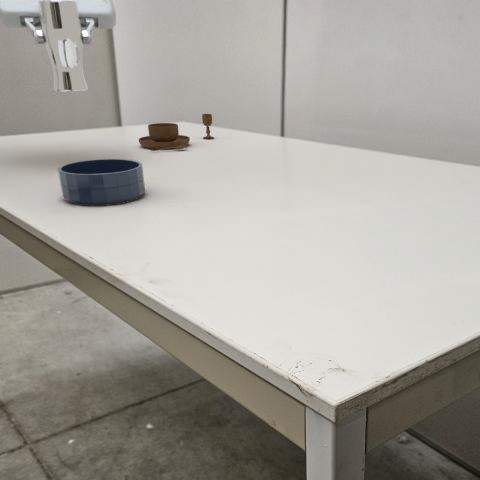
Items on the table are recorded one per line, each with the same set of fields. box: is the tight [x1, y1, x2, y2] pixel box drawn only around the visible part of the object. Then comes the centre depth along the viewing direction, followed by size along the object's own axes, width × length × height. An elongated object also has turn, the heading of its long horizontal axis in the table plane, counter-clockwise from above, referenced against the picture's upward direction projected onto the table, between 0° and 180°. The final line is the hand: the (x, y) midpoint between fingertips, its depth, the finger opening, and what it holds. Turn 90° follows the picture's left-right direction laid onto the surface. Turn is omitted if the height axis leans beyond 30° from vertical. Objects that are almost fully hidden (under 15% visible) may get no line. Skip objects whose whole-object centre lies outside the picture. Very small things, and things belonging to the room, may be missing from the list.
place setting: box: [138, 113, 215, 152], centre depth 149 cm, size 18×20×6 cm
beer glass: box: [38, 0, 89, 93], centre depth 114 cm, size 7×7×15 cm
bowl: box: [57, 158, 146, 206], centre depth 102 cm, size 13×13×5 cm
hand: (64, 41), depth 113 cm, fingers closed on beer glass, 7 cm apart
